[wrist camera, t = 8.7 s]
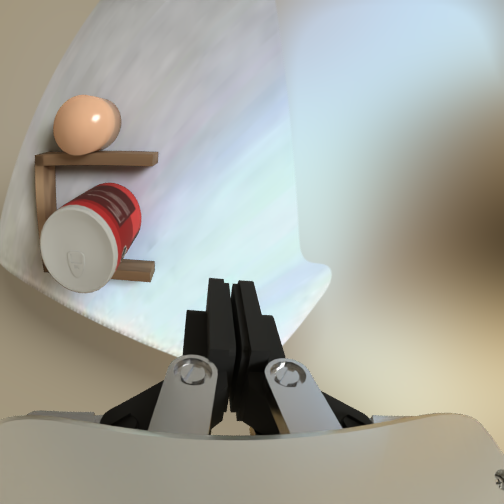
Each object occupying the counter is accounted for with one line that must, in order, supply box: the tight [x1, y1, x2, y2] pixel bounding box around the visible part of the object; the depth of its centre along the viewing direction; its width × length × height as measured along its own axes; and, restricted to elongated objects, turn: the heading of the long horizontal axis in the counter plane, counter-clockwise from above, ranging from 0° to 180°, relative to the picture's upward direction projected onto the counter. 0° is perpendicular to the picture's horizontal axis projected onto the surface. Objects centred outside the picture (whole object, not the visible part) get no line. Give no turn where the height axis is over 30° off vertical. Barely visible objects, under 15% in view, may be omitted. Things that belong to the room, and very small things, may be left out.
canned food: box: [40, 183, 141, 293], centre depth 28 cm, size 8×8×11 cm
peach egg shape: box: [53, 95, 121, 155], centre depth 27 cm, size 6×6×5 cm
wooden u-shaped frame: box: [35, 151, 158, 282], centre depth 31 cm, size 14×14×3 cm
